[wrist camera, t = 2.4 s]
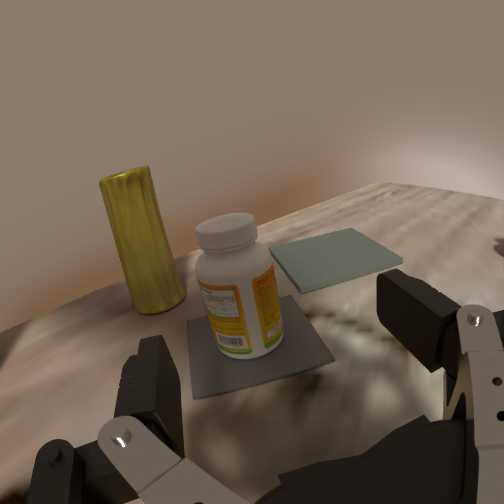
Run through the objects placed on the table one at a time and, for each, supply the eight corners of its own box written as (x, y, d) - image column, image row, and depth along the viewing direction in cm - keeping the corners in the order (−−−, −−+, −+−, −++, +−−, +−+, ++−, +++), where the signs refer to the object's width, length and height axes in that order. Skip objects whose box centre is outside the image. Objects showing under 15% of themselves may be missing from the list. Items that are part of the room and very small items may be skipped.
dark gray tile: (193, 400, 19) (192, 397, 19) (187, 322, 29) (187, 321, 28) (334, 361, 21) (334, 358, 21) (291, 296, 30) (290, 294, 30)
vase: (156, 285, 38) (124, 170, 32) (197, 288, 35) (165, 160, 30) (124, 311, 32) (82, 185, 27) (165, 318, 30) (122, 174, 25)
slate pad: (301, 294, 30) (300, 288, 30) (269, 252, 41) (268, 247, 41) (402, 263, 32) (402, 258, 31) (351, 231, 43) (351, 227, 42)
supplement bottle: (271, 313, 27) (252, 204, 24) (294, 347, 23) (276, 221, 19) (211, 330, 26) (182, 222, 23) (224, 370, 22) (188, 243, 18)
